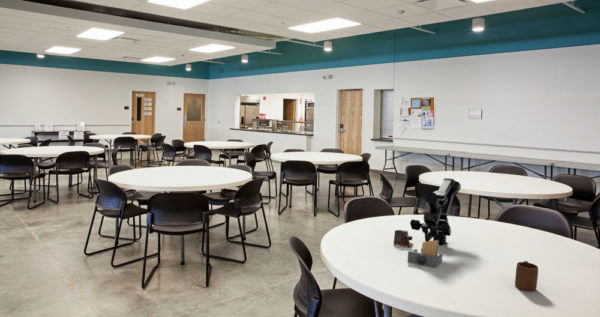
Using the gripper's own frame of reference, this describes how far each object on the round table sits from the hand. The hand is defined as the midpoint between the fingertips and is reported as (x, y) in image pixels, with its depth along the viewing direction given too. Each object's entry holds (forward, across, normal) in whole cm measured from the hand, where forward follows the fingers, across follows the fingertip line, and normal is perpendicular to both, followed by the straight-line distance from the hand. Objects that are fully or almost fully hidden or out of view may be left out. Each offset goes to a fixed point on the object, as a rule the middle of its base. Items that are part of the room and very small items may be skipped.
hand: (426, 242), depth 194 cm
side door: (+8, +3, +1) cm, 9 cm away
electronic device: (-2, -14, +13) cm, 19 cm away
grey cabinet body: (+10, +2, -1) cm, 10 cm away
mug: (+12, +43, -2) cm, 44 cm away
